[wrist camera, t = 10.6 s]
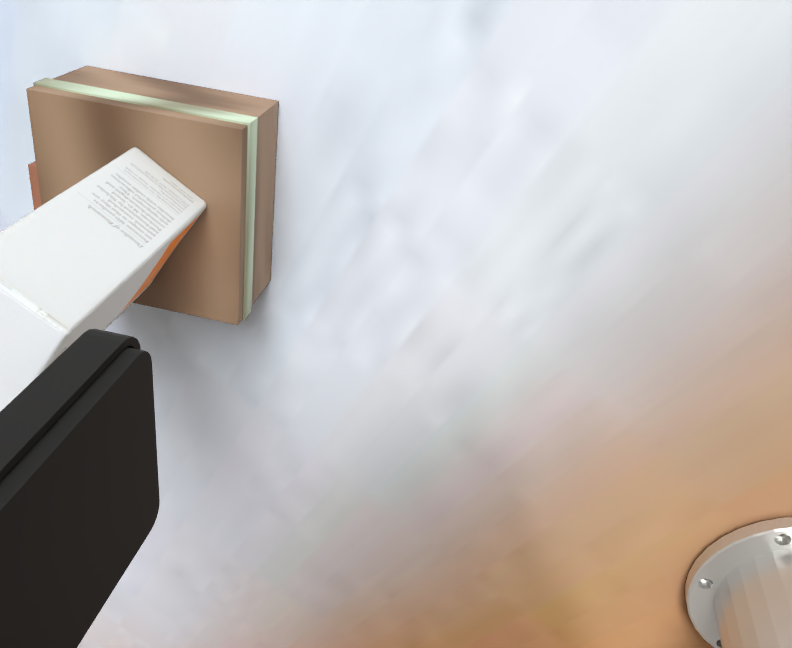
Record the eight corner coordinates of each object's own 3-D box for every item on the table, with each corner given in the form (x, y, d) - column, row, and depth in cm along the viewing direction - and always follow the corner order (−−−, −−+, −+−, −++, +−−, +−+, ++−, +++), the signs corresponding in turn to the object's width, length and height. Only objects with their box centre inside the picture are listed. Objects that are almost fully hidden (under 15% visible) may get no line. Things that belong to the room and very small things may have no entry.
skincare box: (152, 286, 37) (1, 436, 27) (80, 231, 37) (-104, 365, 26) (213, 202, 34) (69, 336, 24) (136, 140, 34) (-47, 252, 23)
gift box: (280, 99, 37) (244, 127, 32) (272, 282, 42) (239, 326, 38) (73, 61, 38) (11, 84, 33) (90, 244, 43) (39, 284, 39)
